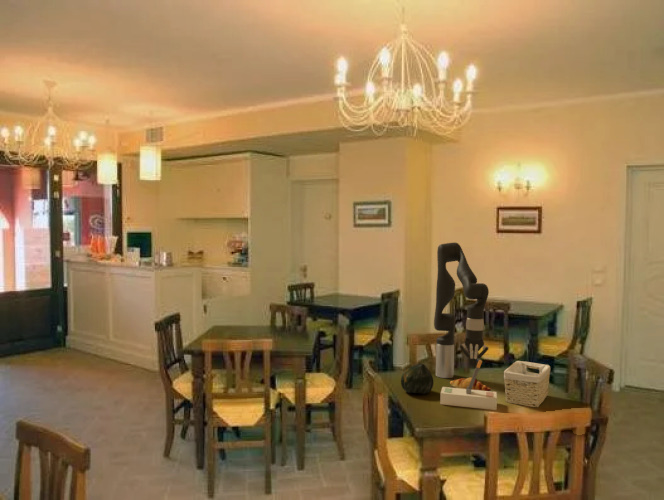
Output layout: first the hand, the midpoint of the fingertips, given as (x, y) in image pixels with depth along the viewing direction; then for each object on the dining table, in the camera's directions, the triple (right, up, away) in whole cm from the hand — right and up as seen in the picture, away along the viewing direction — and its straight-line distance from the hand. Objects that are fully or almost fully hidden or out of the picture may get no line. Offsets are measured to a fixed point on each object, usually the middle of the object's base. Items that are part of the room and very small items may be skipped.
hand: (473, 366), depth 243 cm
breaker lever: (-2, -11, +1) cm, 11 cm away
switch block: (0, -17, +6) cm, 18 cm away
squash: (-22, -16, +17) cm, 32 cm away
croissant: (+4, -16, +21) cm, 27 cm away
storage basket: (+27, -17, +9) cm, 33 cm away
